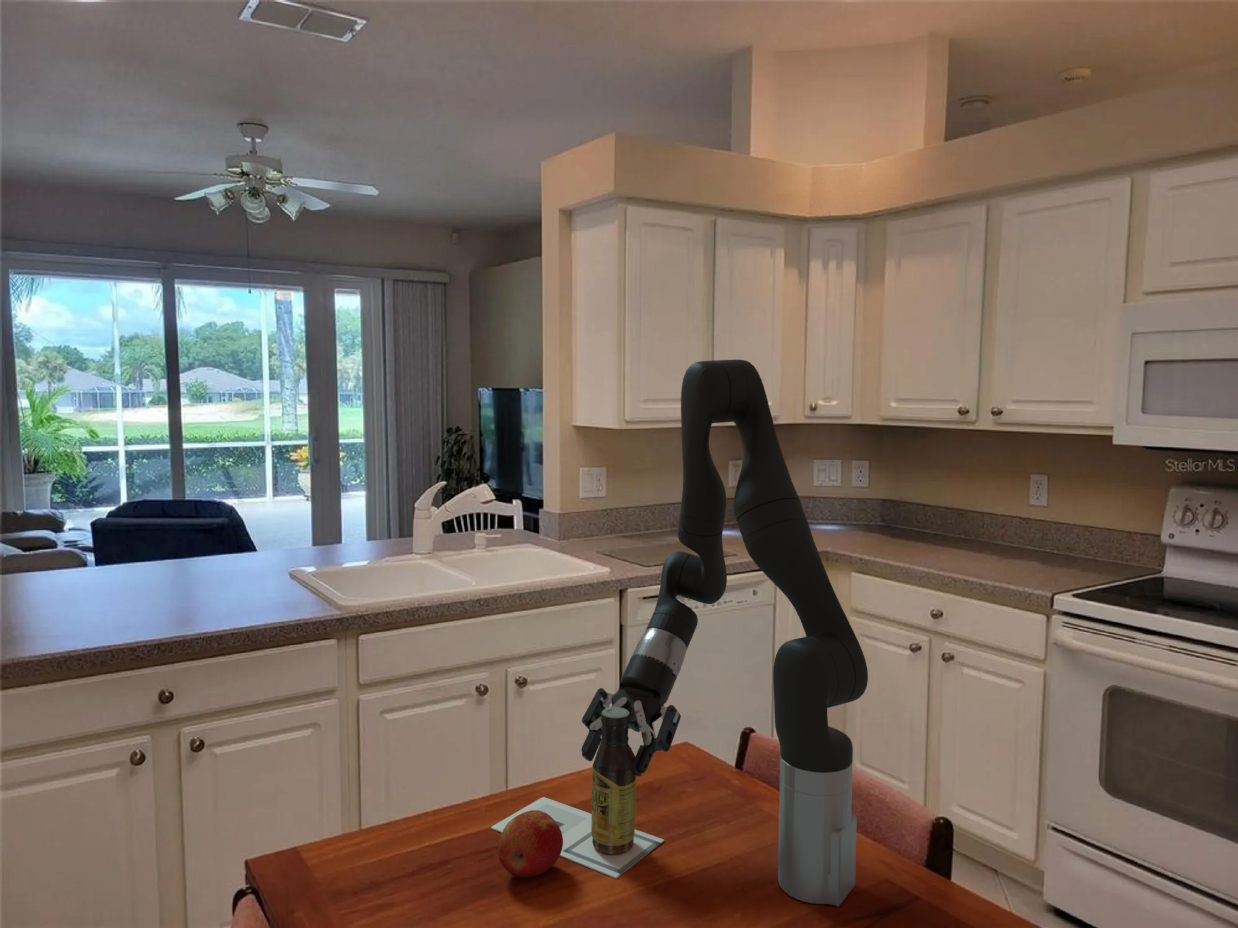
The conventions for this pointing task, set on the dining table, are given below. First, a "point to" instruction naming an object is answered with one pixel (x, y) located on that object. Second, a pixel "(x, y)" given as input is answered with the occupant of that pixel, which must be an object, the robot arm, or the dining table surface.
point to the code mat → (587, 839)
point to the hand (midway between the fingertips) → (610, 765)
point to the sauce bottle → (613, 786)
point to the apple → (530, 844)
